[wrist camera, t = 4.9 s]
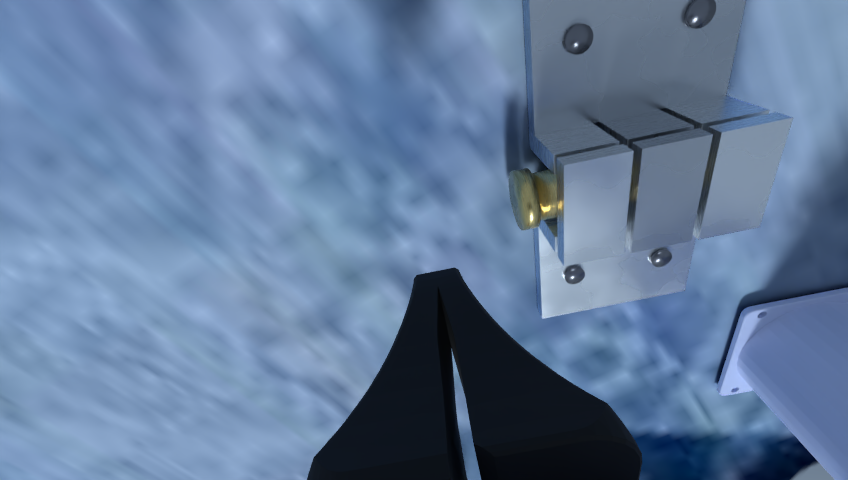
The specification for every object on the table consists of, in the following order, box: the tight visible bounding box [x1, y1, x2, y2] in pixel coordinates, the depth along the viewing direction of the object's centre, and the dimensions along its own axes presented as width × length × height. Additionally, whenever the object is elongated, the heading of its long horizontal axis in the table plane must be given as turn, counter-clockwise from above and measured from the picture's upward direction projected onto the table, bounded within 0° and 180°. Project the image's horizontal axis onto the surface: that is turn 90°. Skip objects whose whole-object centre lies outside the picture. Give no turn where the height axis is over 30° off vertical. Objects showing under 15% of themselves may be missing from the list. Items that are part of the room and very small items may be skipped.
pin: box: [509, 168, 557, 230], centre depth 17 cm, size 9×2×2 cm, turn 101°
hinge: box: [523, 0, 793, 319], centre depth 17 cm, size 8×16×4 cm, turn 11°
